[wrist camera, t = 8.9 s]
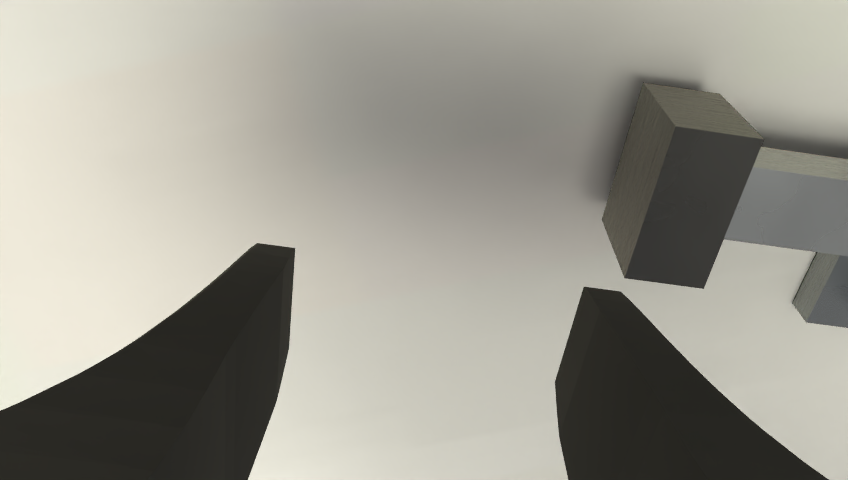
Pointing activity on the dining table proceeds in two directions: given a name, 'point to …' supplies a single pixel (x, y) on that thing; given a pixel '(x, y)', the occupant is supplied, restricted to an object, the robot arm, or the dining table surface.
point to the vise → (825, 291)
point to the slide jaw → (714, 190)
